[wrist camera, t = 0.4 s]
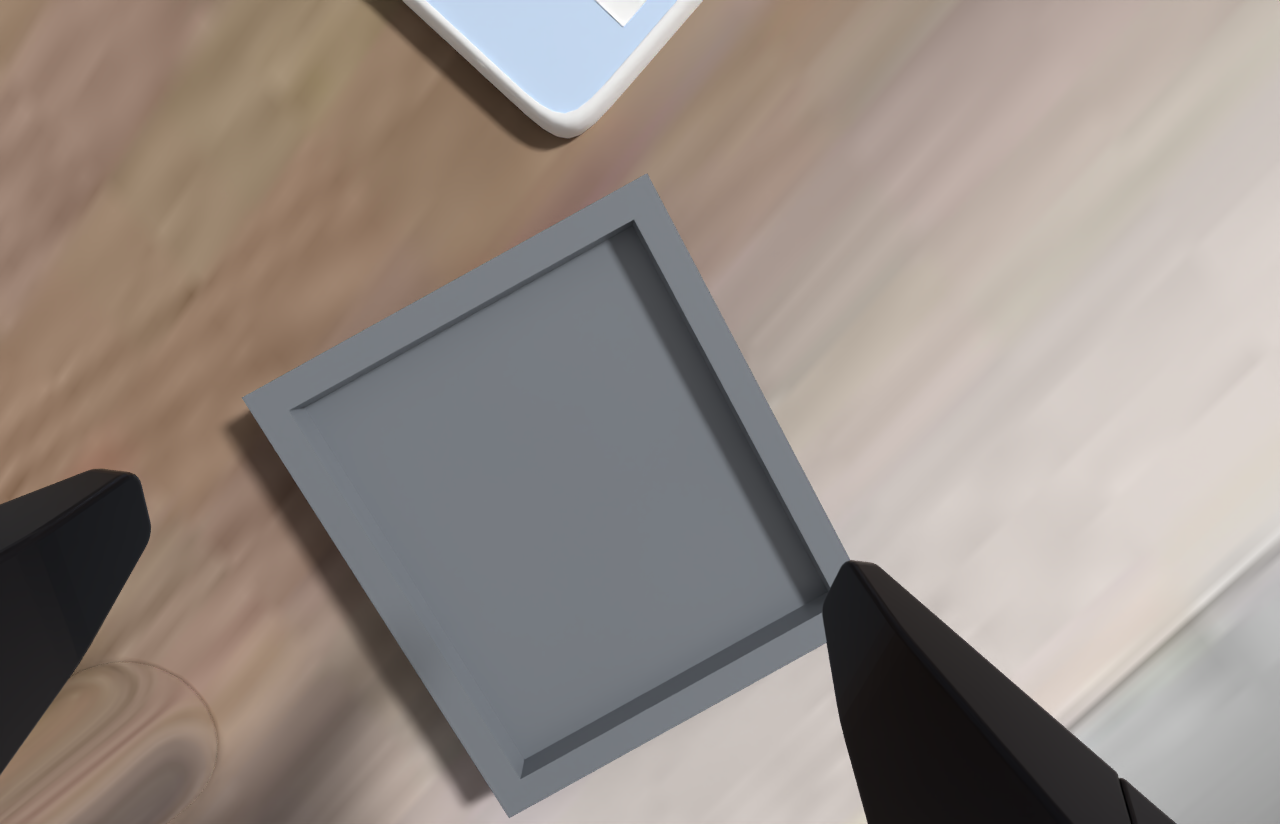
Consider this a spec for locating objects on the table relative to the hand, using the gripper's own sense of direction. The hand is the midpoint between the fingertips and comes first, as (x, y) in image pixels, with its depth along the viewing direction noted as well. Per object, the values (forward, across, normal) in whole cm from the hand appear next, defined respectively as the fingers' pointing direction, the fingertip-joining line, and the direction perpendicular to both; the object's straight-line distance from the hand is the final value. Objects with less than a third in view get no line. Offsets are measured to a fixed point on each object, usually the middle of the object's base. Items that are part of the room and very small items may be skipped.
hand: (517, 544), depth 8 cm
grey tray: (+11, -2, +8) cm, 14 cm away
